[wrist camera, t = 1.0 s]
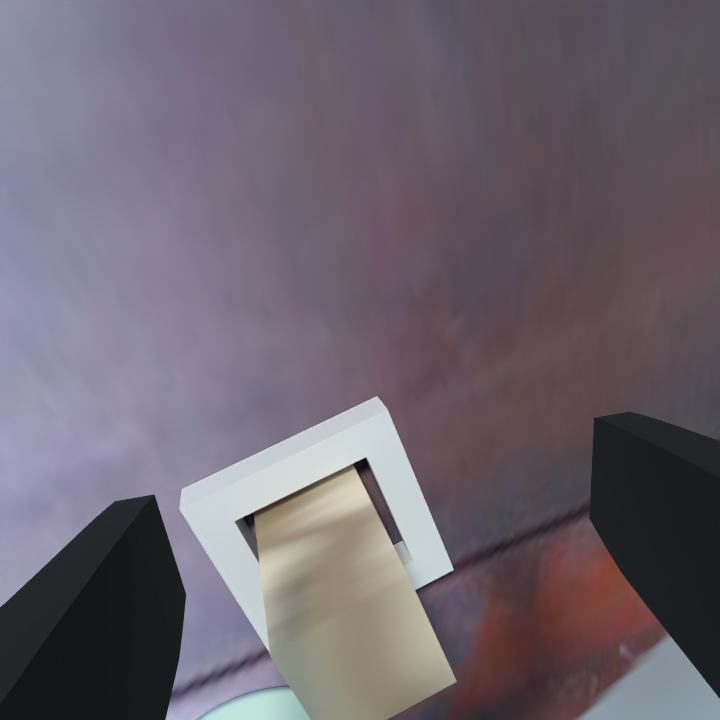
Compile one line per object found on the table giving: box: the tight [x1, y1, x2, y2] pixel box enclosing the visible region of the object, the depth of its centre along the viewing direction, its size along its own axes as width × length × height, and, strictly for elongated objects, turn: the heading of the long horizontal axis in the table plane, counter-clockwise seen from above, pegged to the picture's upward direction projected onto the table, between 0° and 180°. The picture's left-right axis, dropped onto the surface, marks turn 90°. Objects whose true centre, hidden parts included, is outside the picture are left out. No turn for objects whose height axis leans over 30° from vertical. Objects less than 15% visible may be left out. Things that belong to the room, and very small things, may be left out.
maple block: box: [254, 464, 457, 720], centre depth 20 cm, size 4×4×8 cm
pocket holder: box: [180, 396, 454, 652], centre depth 23 cm, size 9×9×2 cm
